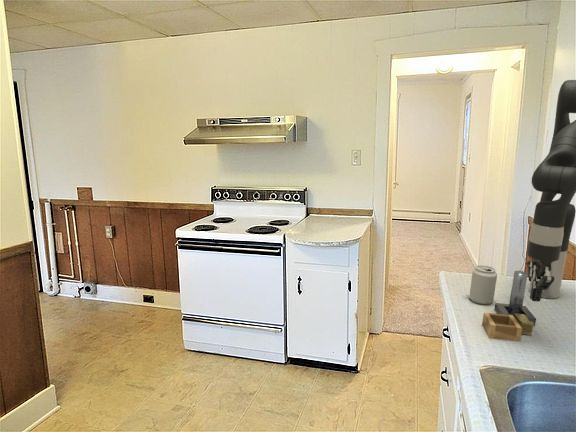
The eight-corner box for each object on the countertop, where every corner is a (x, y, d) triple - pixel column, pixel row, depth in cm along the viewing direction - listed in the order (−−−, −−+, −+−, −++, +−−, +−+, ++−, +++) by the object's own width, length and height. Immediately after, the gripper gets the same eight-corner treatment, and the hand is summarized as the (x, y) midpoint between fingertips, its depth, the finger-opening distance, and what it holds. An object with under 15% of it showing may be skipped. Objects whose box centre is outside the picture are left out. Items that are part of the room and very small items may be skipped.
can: (491, 307, 135) (496, 273, 132) (467, 302, 139) (471, 268, 136) (494, 299, 141) (499, 266, 138) (470, 294, 145) (475, 262, 142)
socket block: (494, 309, 133) (495, 302, 133) (524, 312, 132) (525, 305, 131) (502, 323, 125) (503, 315, 124) (534, 326, 123) (536, 318, 123)
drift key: (512, 322, 125) (514, 311, 124) (523, 323, 124) (525, 312, 124) (520, 333, 118) (522, 322, 117) (531, 334, 118) (533, 323, 117)
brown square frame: (482, 324, 124) (483, 312, 123) (510, 327, 122) (512, 315, 121) (489, 337, 116) (491, 325, 115) (520, 341, 114) (522, 328, 113)
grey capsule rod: (505, 314, 130) (512, 270, 127) (517, 315, 130) (525, 271, 126) (509, 319, 127) (516, 274, 123) (521, 321, 126) (529, 275, 123)
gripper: (572, 249, 102) (560, 312, 107) (550, 234, 115) (540, 291, 119) (539, 247, 104) (528, 309, 108) (521, 232, 116) (512, 289, 121)
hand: (534, 300), depth 114 cm, fingers closed
